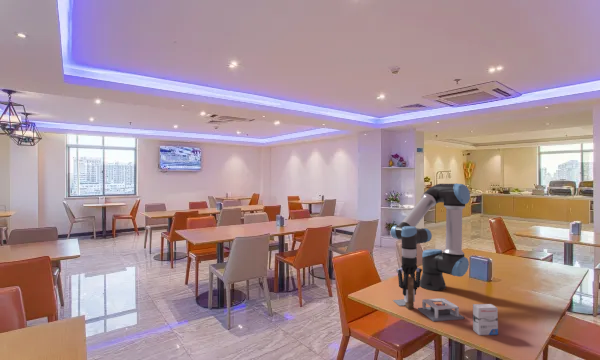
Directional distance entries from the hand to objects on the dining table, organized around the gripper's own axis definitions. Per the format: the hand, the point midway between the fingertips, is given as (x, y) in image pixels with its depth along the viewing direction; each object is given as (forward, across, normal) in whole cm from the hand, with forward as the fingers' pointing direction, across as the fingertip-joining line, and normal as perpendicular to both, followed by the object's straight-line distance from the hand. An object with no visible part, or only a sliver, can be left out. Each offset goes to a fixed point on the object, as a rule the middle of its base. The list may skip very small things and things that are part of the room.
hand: (409, 301), depth 168 cm
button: (+1, -11, +10) cm, 15 cm away
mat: (+4, 0, -7) cm, 8 cm away
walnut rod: (+4, 0, 0) cm, 4 cm away
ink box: (+4, -19, +31) cm, 37 cm away
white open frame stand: (+4, -11, +10) cm, 15 cm away
